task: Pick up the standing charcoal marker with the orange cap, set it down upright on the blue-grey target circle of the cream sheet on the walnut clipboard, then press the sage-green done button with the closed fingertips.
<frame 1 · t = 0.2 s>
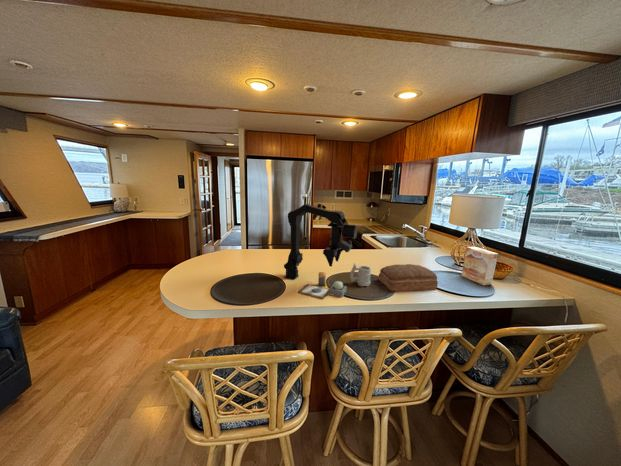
hand: (333, 263, 129), 14 cm above the worktop, fingers open, 9 cm apart
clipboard: (314, 291, 126), on the worktop
button collar: (337, 292, 126), on the worktop
bread: (406, 285, 140), on the worktop
marker: (321, 285, 134), on the worktop
mug: (359, 284, 138), on the worktop
done button: (338, 286, 125), point 3 cm above the worktop, slide at 0.0 cm
coffeecake box: (475, 280, 150), on the worktop
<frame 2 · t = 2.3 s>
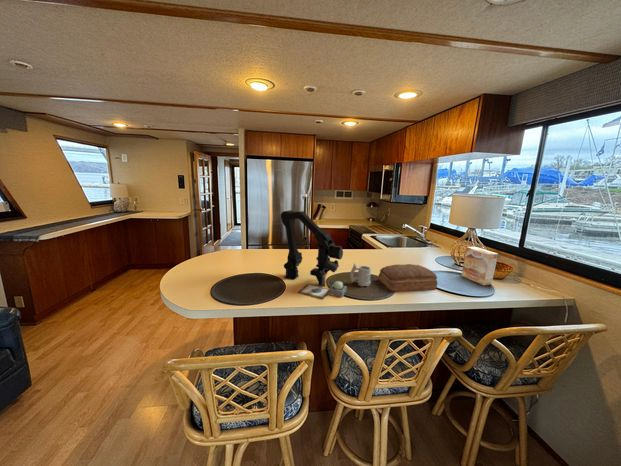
hand: (321, 282, 134), 2 cm above the worktop, fingers closed on marker, 4 cm apart
marker: (321, 285, 134), on the worktop, touching gripper
everything else where it was.
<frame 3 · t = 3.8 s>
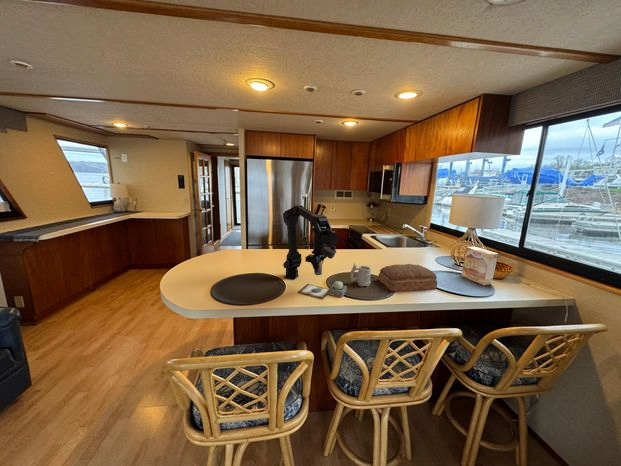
hand: (317, 270, 124), 12 cm above the worktop, fingers closed on marker, 4 cm apart
marker: (317, 273, 124), point 10 cm above the worktop, touching gripper
everything else where it was.
when the fingers open (4 cm above the worktop, at t = 5.6 s): marker drops 1 cm, resting on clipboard.
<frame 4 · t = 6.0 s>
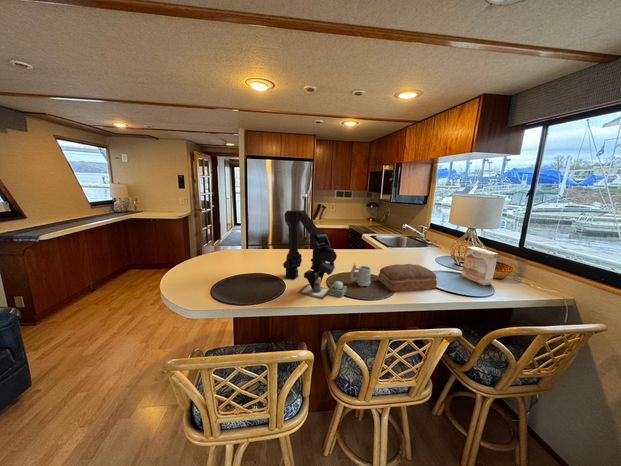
hand: (316, 285, 125), 4 cm above the worktop, fingers open, 8 cm apart
marker: (316, 290, 126), point 1 cm above the worktop, touching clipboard
everything else where it was.
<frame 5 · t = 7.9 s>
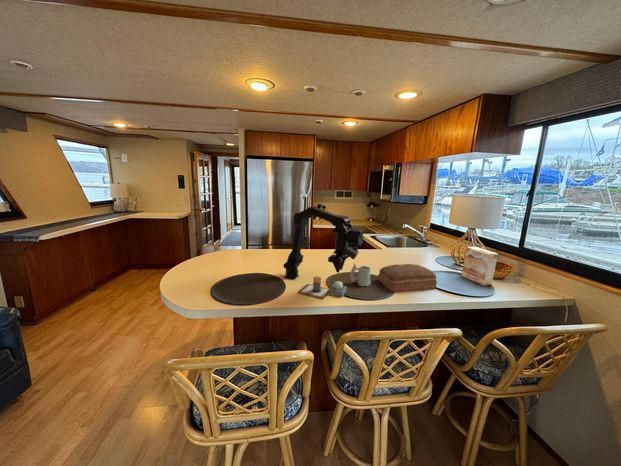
hand: (339, 271, 123), 12 cm above the worktop, fingers open, 4 cm apart
nothing on the worktop moved.
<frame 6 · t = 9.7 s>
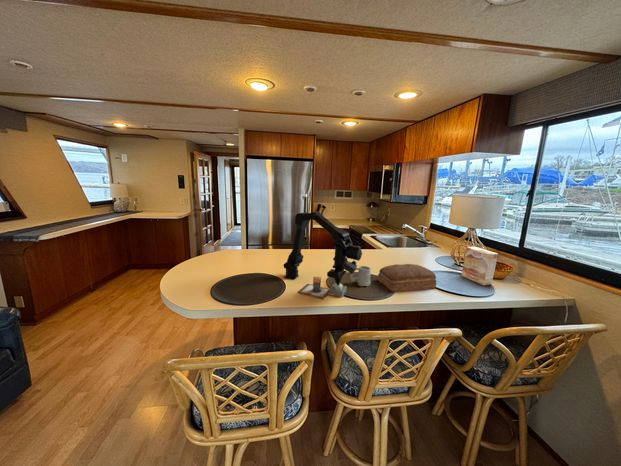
hand: (338, 284, 125), 4 cm above the worktop, fingers closed, pressing on done button
done button: (338, 288, 125), point 3 cm above the worktop, slide at 1.0 cm, touching gripper
everything else where it was.
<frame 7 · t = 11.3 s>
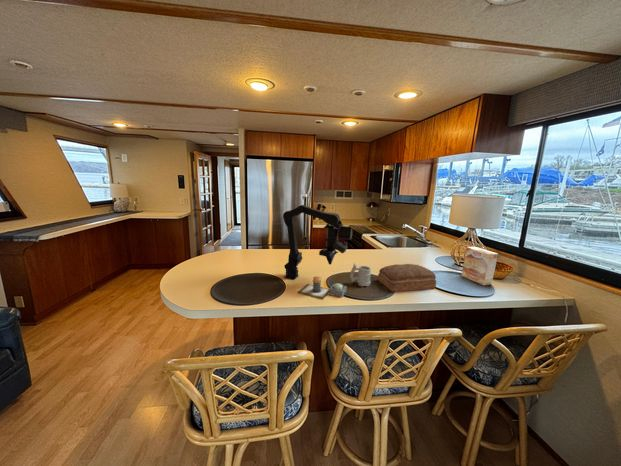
hand: (330, 264, 134), 12 cm above the worktop, fingers closed
done button: (338, 288, 125), point 2 cm above the worktop, slide at 1.2 cm
everything else where it was.
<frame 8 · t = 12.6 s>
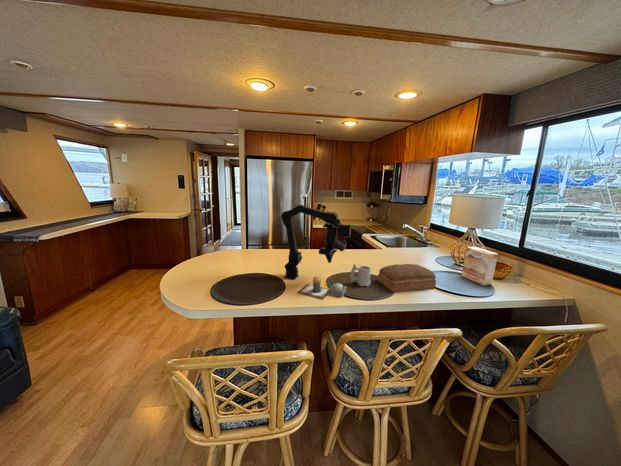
hand: (329, 262, 135), 12 cm above the worktop, fingers closed
nothing on the worktop moved.
at the end: marker 0.1 cm from the target spot, point 0.8 cm above the worktop; marker tilted 0°; done button slide at 1.2 cm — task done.
